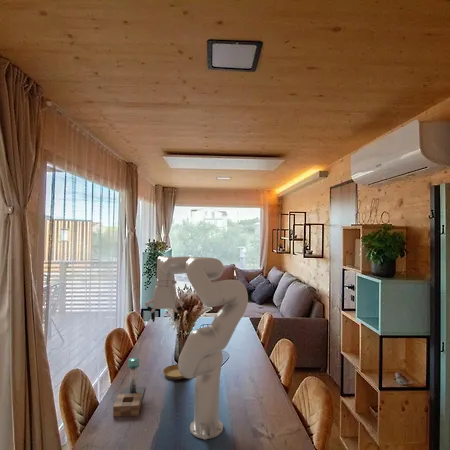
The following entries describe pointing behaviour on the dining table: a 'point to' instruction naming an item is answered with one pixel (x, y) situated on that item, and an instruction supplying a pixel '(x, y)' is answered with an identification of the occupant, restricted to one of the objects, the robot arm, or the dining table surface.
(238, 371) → the dining table surface
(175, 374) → the plant saucer
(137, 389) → the rubber pad
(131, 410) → the eye block
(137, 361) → the teal capped rod
